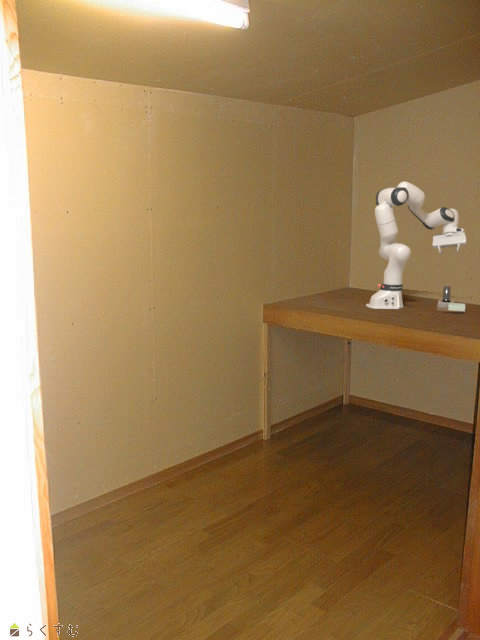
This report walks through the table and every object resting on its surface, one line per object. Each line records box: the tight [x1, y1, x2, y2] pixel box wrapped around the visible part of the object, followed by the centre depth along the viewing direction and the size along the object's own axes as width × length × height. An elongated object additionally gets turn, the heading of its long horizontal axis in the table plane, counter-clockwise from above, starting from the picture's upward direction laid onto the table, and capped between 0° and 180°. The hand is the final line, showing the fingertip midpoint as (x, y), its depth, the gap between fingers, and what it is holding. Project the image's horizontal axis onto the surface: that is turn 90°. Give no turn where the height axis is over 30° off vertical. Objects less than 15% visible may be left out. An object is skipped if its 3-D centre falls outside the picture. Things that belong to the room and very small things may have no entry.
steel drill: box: [442, 285, 452, 302], centre depth 357 cm, size 4×4×12 cm
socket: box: [437, 299, 455, 307], centre depth 358 cm, size 9×9×3 cm
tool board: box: [436, 303, 467, 315], centre depth 353 cm, size 22×16×2 cm
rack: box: [448, 302, 466, 312], centre depth 347 cm, size 9×9×3 cm
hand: (448, 252), depth 363 cm, fingers open, 8 cm apart
